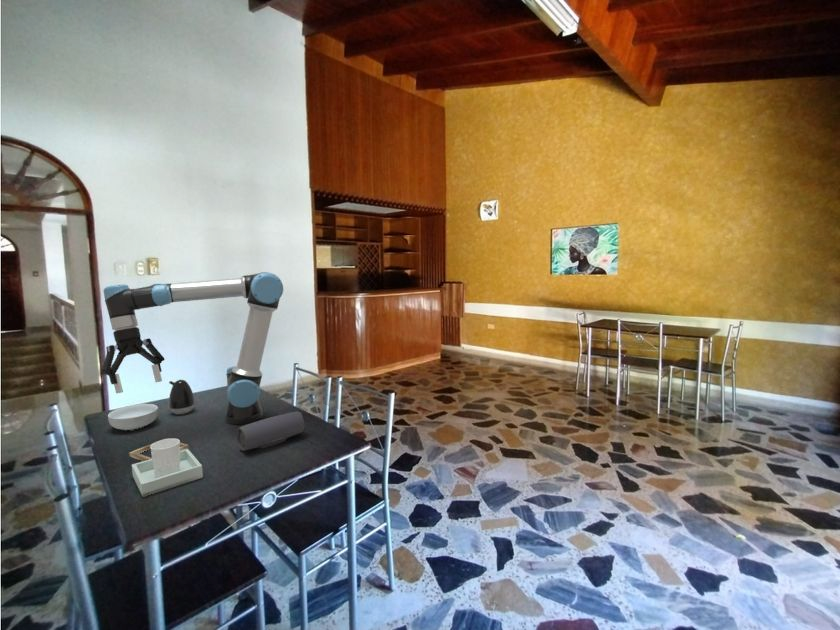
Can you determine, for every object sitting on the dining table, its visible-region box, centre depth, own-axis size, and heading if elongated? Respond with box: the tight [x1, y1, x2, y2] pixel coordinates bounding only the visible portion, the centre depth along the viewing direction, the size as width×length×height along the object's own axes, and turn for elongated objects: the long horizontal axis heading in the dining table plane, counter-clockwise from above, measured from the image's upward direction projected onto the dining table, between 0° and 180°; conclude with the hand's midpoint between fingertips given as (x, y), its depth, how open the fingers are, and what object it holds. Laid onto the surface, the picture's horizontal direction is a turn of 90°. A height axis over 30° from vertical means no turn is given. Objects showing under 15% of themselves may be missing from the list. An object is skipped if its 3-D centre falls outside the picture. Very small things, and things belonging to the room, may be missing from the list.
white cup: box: [150, 437, 181, 478], centre depth 129 cm, size 8×8×10 cm
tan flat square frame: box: [128, 437, 189, 462], centre depth 146 cm, size 13×13×2 cm
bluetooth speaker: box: [236, 411, 306, 452], centre depth 153 cm, size 23×9×10 cm, turn 135°
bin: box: [131, 449, 204, 498], centre depth 129 cm, size 16×16×4 cm
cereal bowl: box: [107, 403, 159, 431], centre depth 169 cm, size 17×17×7 cm
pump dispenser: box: [168, 379, 196, 415], centre depth 184 cm, size 10×10×15 cm
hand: (140, 387), depth 145 cm, fingers open, 13 cm apart
